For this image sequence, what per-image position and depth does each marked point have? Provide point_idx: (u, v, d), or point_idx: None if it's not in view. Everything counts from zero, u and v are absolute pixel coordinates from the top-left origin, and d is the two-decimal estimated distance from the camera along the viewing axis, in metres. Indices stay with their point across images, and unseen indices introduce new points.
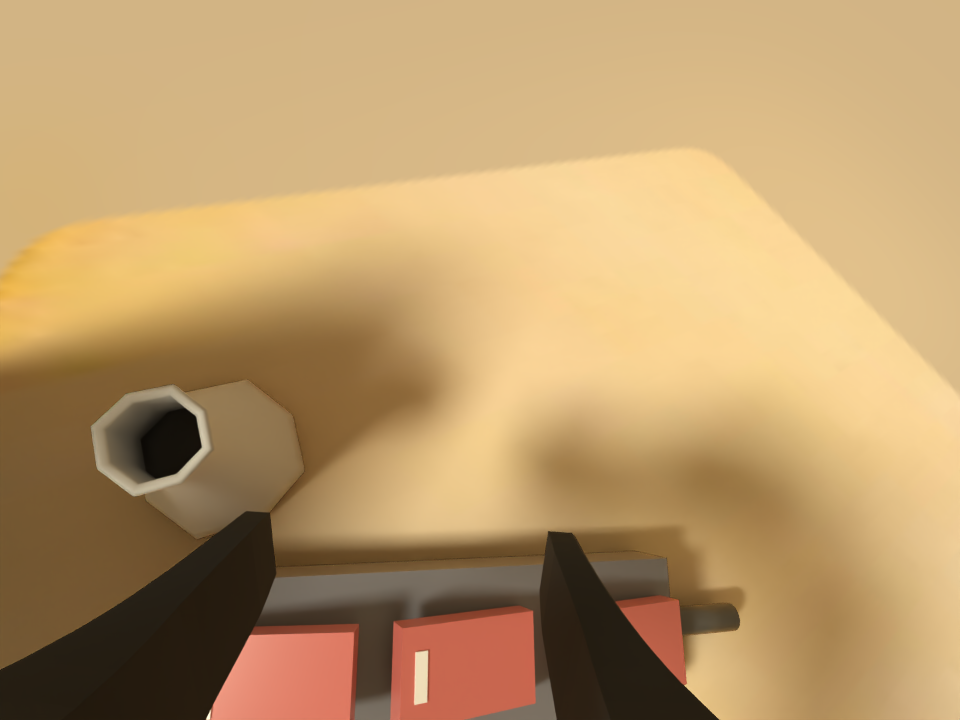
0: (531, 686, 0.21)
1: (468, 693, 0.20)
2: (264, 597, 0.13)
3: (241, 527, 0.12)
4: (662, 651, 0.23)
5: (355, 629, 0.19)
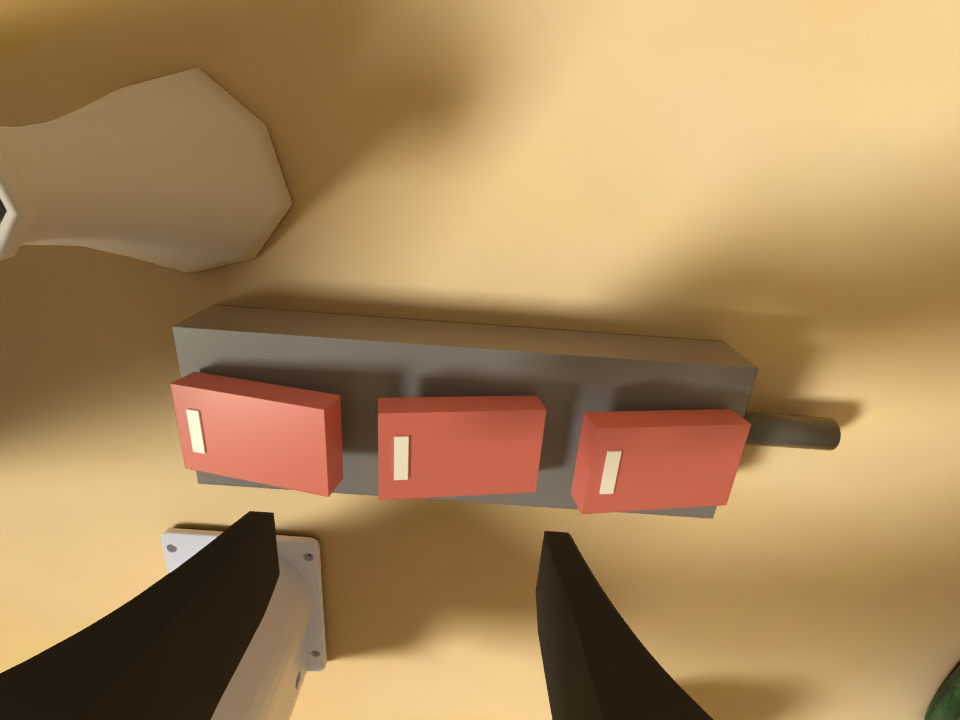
0: (532, 478, 0.19)
1: (456, 476, 0.19)
2: (268, 597, 0.13)
3: (245, 527, 0.12)
4: (705, 473, 0.19)
5: (329, 404, 0.17)
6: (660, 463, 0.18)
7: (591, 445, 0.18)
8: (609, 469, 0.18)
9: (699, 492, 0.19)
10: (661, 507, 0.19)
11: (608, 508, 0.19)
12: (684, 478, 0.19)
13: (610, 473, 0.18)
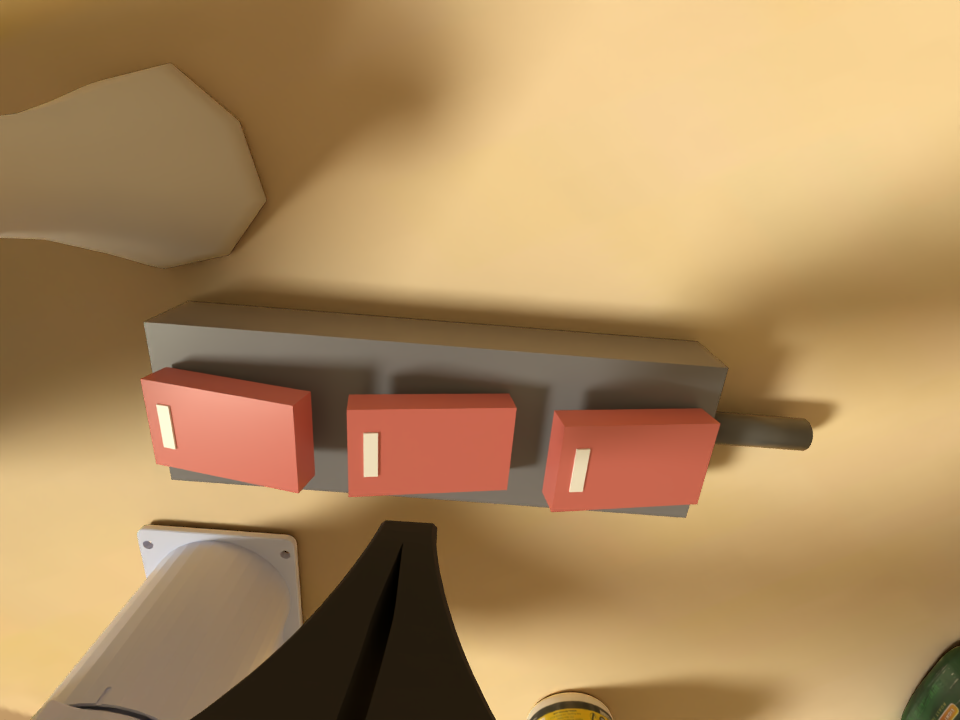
0: (503, 475, 0.19)
1: (427, 473, 0.19)
2: None
3: (391, 537, 0.12)
4: (675, 472, 0.19)
5: (299, 400, 0.17)
6: (629, 462, 0.18)
7: (560, 443, 0.18)
8: (578, 467, 0.18)
9: (669, 491, 0.19)
10: (631, 506, 0.19)
11: (578, 506, 0.19)
12: (654, 477, 0.19)
13: (579, 471, 0.18)
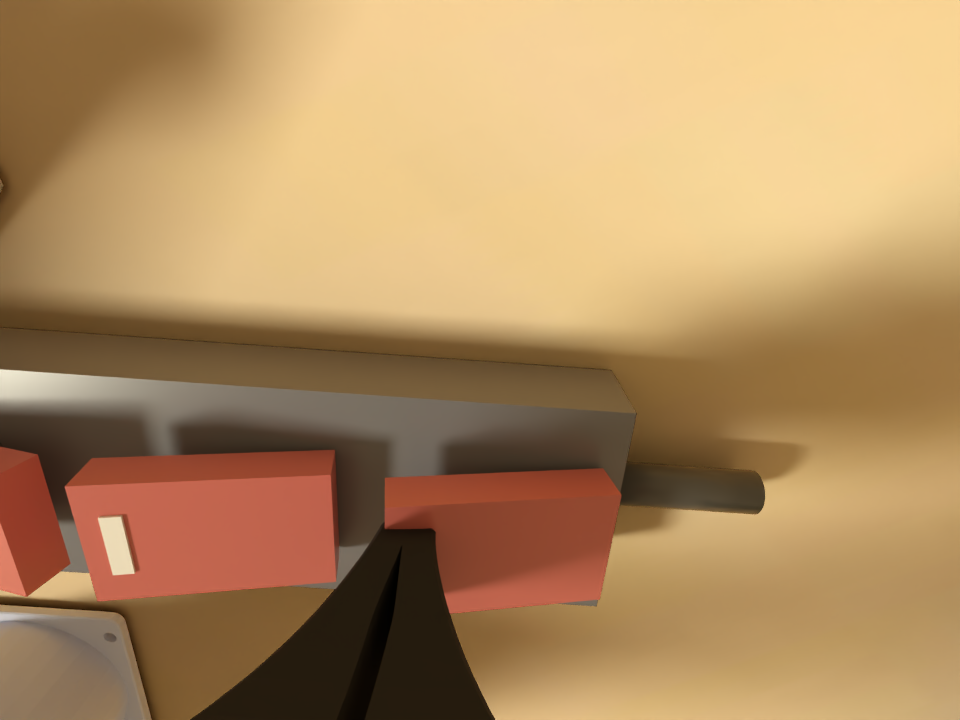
0: (327, 564, 0.14)
1: (211, 566, 0.13)
2: None
3: (391, 537, 0.12)
4: (562, 560, 0.13)
5: (5, 471, 0.12)
6: (492, 550, 0.13)
7: None
8: None
9: (557, 585, 0.14)
10: (504, 606, 0.14)
11: None
12: (532, 568, 0.13)
13: None
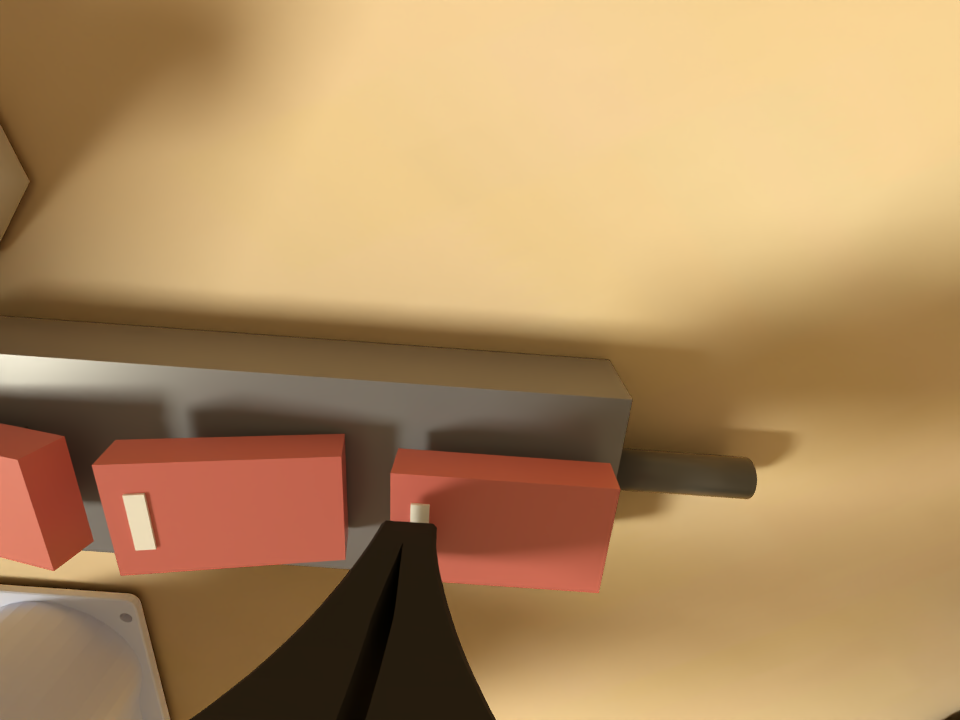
0: (337, 542, 0.15)
1: (227, 543, 0.14)
2: None
3: (391, 537, 0.12)
4: (559, 547, 0.14)
5: (35, 450, 0.13)
6: (490, 527, 0.14)
7: (391, 493, 0.13)
8: None
9: (555, 571, 0.14)
10: (501, 584, 0.14)
11: None
12: (529, 550, 0.14)
13: None
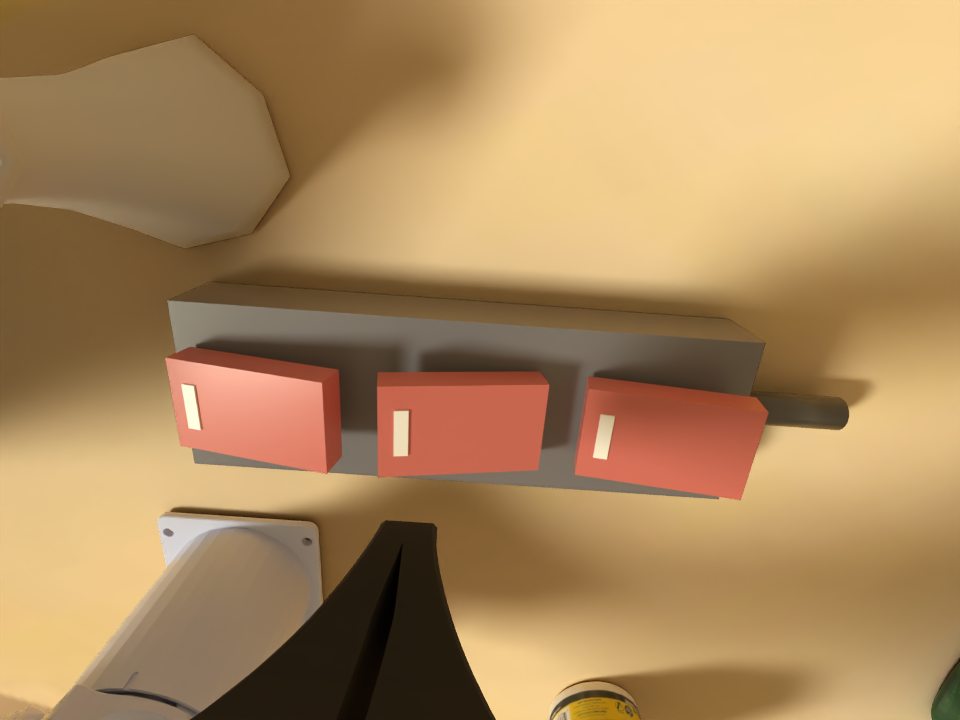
0: (535, 455, 0.19)
1: (457, 453, 0.18)
2: None
3: (391, 537, 0.12)
4: (713, 458, 0.18)
5: (327, 378, 0.17)
6: (659, 438, 0.18)
7: (585, 406, 0.18)
8: (601, 432, 0.18)
9: (706, 478, 0.18)
10: (662, 486, 0.19)
11: (602, 474, 0.19)
12: (687, 459, 0.18)
13: (603, 437, 0.18)
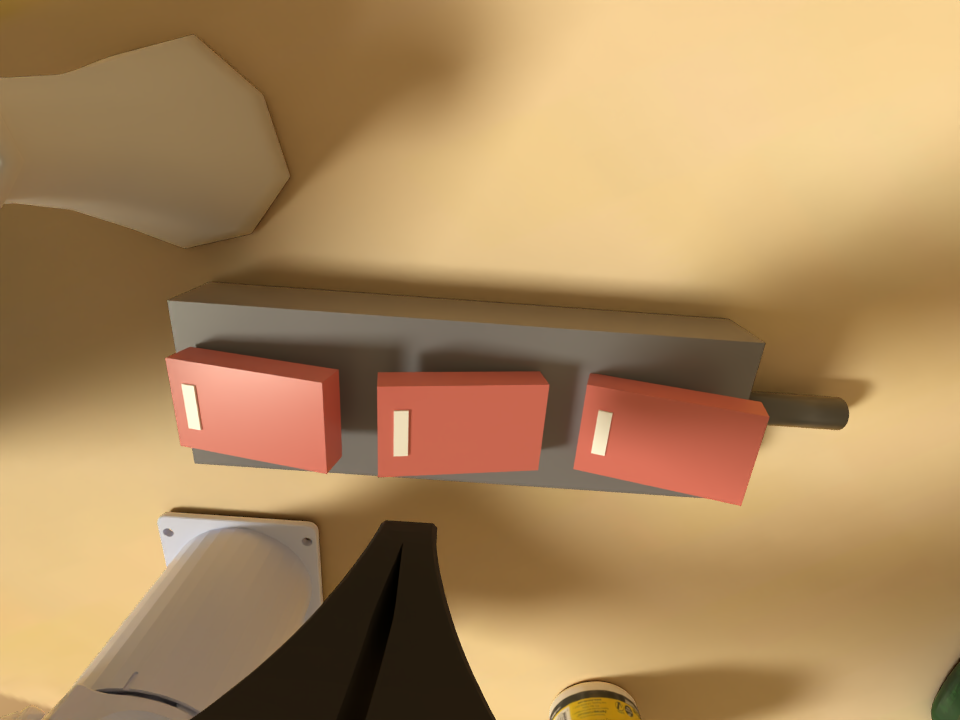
0: (535, 455, 0.19)
1: (457, 453, 0.18)
2: None
3: (391, 537, 0.12)
4: (712, 461, 0.18)
5: (327, 378, 0.17)
6: (657, 437, 0.18)
7: (584, 401, 0.18)
8: (599, 429, 0.18)
9: (705, 481, 0.18)
10: (660, 486, 0.19)
11: (600, 470, 0.19)
12: (686, 460, 0.18)
13: (601, 433, 0.18)
